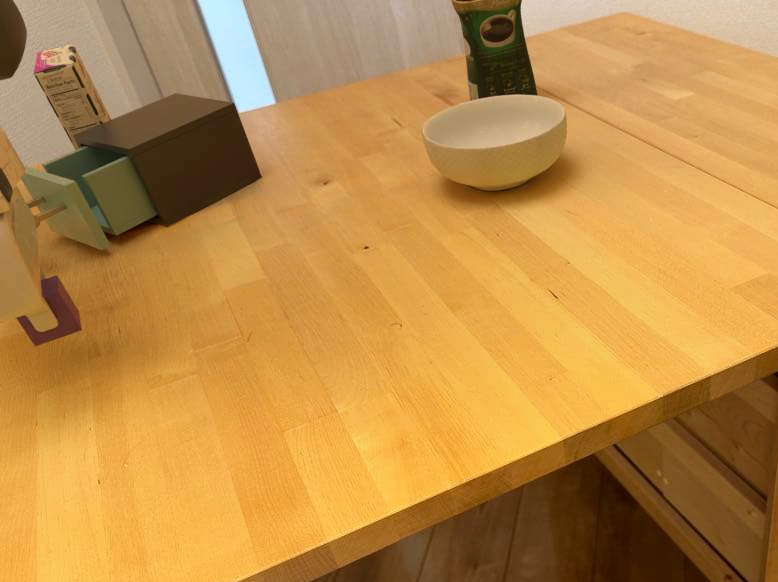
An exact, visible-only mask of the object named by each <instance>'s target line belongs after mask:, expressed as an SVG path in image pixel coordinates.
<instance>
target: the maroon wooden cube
mask: <svg viewBox="0 0 778 582" xmlns="http://www.w3.org/2000/svg"><path fill="white" fill-rule="evenodd" d="M41 288H42V296H43V297H44V299H45V300H46V302H47V303H49V304H50V306H51V307H52V309H53V311H54V312H55V314H56V315H57V320H58V325H57V327H56V328H53V329H50V330H47V331H44V332H39V331H37V330H36V329H35V328H34V326H33V325H32V323H31V322H30V320H29V319H28V317H26V316H25V315H23V316H20V317H17V318H15V319H16V320H17V322H18V323H19V325H20V327H22V329H23V331H24V332H25V334H26V335H27V337H28V339H30V341H31V342H32V344H33V346H34V347H38V346H41V345H43V344H46V343H49V342H52V341H55V340H57V339H58V340H59V339H61V338H64V337H67V336H70V335H72V334H75V333H78V332H82V331H83V329H82V328H83V327H82V322H81V315H80V311H79V309H78V307H77V305H76V304H75V302H74V300H73V299H72V297H71V296H70V294H69V292H68V291H67V289H66V287H65V286H64V284H63V283H62V281H61V279H60V277H59V275H57V274H56V275H53V276H50V277H46V279H43V280H41Z"/></svg>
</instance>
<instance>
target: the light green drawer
mask: <svg viewBox="0 0 778 582" xmlns="http://www.w3.org/2000/svg"><path fill="white" fill-rule="evenodd" d="M41 165H42V167H43V170H44V171H42V170H39V169H36V168H33V167H29V166H25V165H24V167H25V173H24V175H23V177H22V178H21V179H20V180H21V181H22V183H23V185H24V186H25V188H26V190H27V192H28V193H29V195H30V197H31V198H32V199H31V200H29V201H25V202H26V204H27V205H28V207H29V209H30V210H31V209H32V208H34V207H37V208H38V210H39V212H40V213H38V214H33V217H34V219H35V222H36V229H38V228H39V227H40V226H41V222H42V221H45V222H46V223H47V226H48V227H49V229H50V231H51V232H52V233H55V234H57V235H60V236H63V237H66V238H67V239H71V240H74V241H76V242H79V243H81V244H84V245H86V246H89V247H92V248H95V249H98V250H100V251H102V250H105V249H107V248H108V247H110V246H111V244H110V241H109V240H108V238H107V236H106V234H105V233H107V234H111V235H113V236H119V235H121V234H123V233H126V231H128V230H131V229H132V228H134V227H136V226H138V225H140V224H142V223H144V222H147V221H146V220H148V219H150V218H152V217H154V216H156V215H157V213H156V210H155V208H154V206H153V204H152V202H151V200H150V198H149V196H148V194H147V192H146V190H145V188H144V186H143V184H142V182H141V180H140V178H139V176H138V173H137V171H136V169H135V167H134V165H133V163H132V161H131V159H130V157H129V155H125V154H121V153H116V152H112V151H108V150H104V149H100V148H96V147H92V146H88V145H86V146H84V147H82V148H79V149H77V150H75V149H74V150H72V151H70V152H68V153H65V154H63V155H61V156H58V157H56V158H54V159H51V160H48V161H46V162H44V163H42V164H41Z"/></svg>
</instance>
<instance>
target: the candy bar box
mask: <svg viewBox="0 0 778 582" xmlns="http://www.w3.org/2000/svg"><path fill="white" fill-rule="evenodd" d="M32 74H33V75H34V78H35V79H36V81H37V83H38V84H39V87H40V88H41V90H42V92H43V95H45V97H46V100H47V101H48V103H49V105H50V107H51V108H52V110H53V112H54V114H55V116H56V118H57V119H58V121H59V123H60V124H61V127H62V128H63V130H64V132H65V133H66V135H67V137H68V138H69V141H70V143H71V144H72V146H73V148H74V151H75V150H77V149H79V147H78V145H77V143H76V141H75V139H74V137H73V135H75V134H78V133H80V132H83V131H85V130H87V129H90V128H92V127H95V126H97V125H100V124H102V123H104V122H107V121H109V120H112V118H111V116H110V114H109V112H108V110H107V108H106V106H105V104H104V103H103V99H102V98H101V96H100V94H99V92H98V90H97V87H96V86H95V85H94V82H93V80H92V78H91V76H90V74H89V72H88V70H87V69H86V66H85V65H84V62H83V60H82V59H81V57H80V54H79V53H78V50H77V48H76V46H75V44H74V43H73V44H72V43H71V44H67V45H66V44H65V45H62V46H57V47H53V48H50V49H44V50H41V51H39V52H36V58H35V63H34V68H33V73H32Z"/></svg>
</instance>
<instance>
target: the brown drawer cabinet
mask: <svg viewBox="0 0 778 582" xmlns="http://www.w3.org/2000/svg"><path fill="white" fill-rule="evenodd" d="M237 109H238V108H237V106H236V103H235V102H232V101H226V100H219V99H213V98H208V97H202V96H196V95H195V96H194V95H188V94H183V93H173V94H169V95H168V96H165V97H163V98H159V99H158V100H155V101H153V102H151V103H148V104H147V105H146V104H145V105H143V106H141V107H139V108H136V109H134V110H131V111H129V112H127V113H124V114H122V115H119V116H117V117H114V118H111V120H109V121H107V122H104V123H102V124H100V125H97V126H95V127H92V128H90V129H87V130H85V131H83V132H80V133H78V134H75V135H73V137H74V139H75V141H76V143H77V145H78V147H79V148H82V147H84V146H86V145H88V146H92V147H96V148H100V149H104V150H108V151H112V152H116V153H121V154H125V155H129V157H130V159H131V161H132V163H133V165H134V167H135V169H136V171H137V173H138V176H139V178H140V180H141V182H142V184H143V186H144V188H145V190H146V192H147V194H148V196H149V198H150V200H151V202H152V204H153V206H154V208H155V210H156V213H157V215H156V216H154V217H152V218H150V219H148V220H146V221H145V222H150V223H152V224H154V225H155V224H156V225H159V226H161V227H165V228H168V227H171V226H173V225H174V224H176V223H178V222H180V221H181V220H183V219H186V218H187V217H189V216H191V215H193V214H195V213H197V212H199V211H201V210H202V209H205V208H206V207H208V206H210V205H212V204H214V203H216V202H218V201H219V200H221V199H223V198H225V197H227V196H229V195H231V194H234V193H236V192H237V191H239V190H241V189H243V188H245V187H246V186H248V185H250V184H252V183H254V182H256V181H258V180H260V179H262V178H263V177H262V173H261V170H260V168H259V164H258V162H257V159H256V157H255V154H254V152H253V149H252V146H251V144H250V141H249V138H248V136H247V133H246V130H245V127H244V126H243V125H244V124H243V123H242V122H243V121H242V119H241V117H240V115H239V112H238V110H237Z"/></svg>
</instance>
